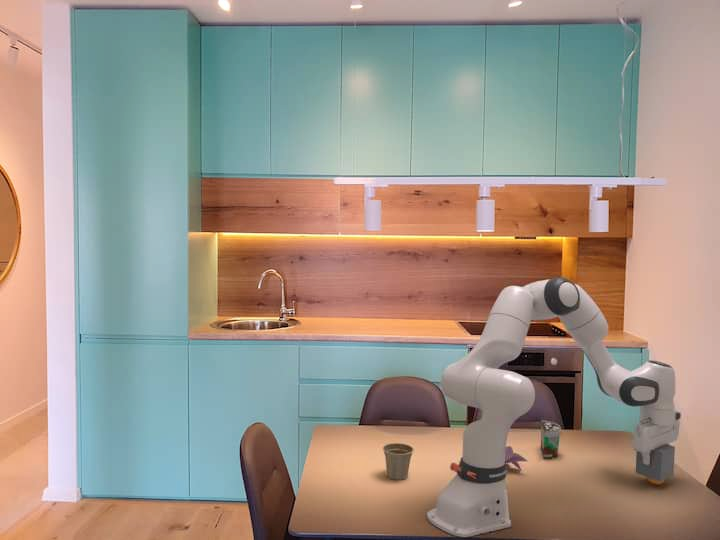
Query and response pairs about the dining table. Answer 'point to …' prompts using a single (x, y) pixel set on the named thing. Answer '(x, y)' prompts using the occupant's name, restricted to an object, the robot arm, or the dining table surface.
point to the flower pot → (397, 460)
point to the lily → (513, 457)
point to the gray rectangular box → (657, 463)
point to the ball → (654, 481)
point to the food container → (550, 439)
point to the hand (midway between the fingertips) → (654, 460)
